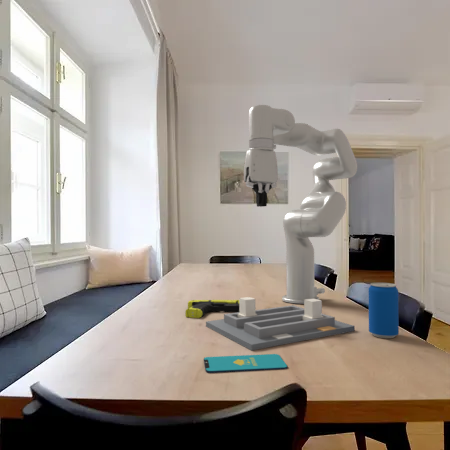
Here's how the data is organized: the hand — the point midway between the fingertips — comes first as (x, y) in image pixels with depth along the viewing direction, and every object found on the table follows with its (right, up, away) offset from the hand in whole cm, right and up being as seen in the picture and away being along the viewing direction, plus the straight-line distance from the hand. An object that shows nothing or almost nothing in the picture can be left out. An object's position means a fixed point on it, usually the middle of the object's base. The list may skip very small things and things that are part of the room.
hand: (261, 206), depth 115 cm
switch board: (+2, -32, -21) cm, 38 cm away
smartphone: (-8, -33, -45) cm, 56 cm away
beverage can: (+26, -32, -27) cm, 49 cm away
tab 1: (-6, -31, -19) cm, 36 cm away
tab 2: (+11, -30, -22) cm, 39 cm away
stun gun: (-14, -33, -2) cm, 36 cm away
